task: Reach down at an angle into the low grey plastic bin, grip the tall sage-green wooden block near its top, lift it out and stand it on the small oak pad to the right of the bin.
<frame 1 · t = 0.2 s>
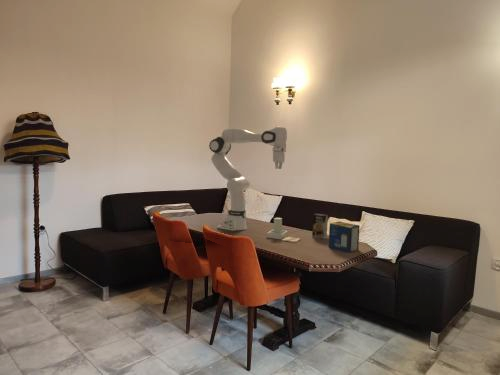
hand: (278, 168, 260), 47 cm above the table, tool pointing down, fingers open, 8 cm apart
pad: (291, 240, 245), on the table
bin: (277, 236, 254), on the table
protein box: (343, 248, 228), on the table
green block: (277, 227, 254), in the bin
coffee box: (319, 237, 257), on the table
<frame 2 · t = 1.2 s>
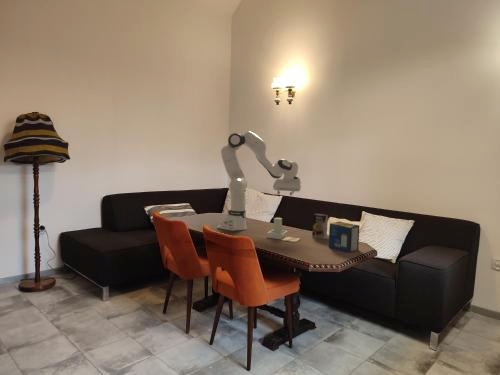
hand: (284, 194, 263), 29 cm above the table, tool tilted 45°, fingers open, 8 cm apart
nothing on the table moved.
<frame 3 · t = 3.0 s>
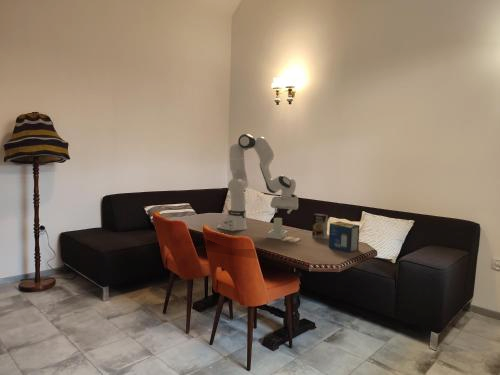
hand: (281, 212, 260), 16 cm above the table, tool tilted 45°, fingers open, 8 cm apart
nothing on the table moved.
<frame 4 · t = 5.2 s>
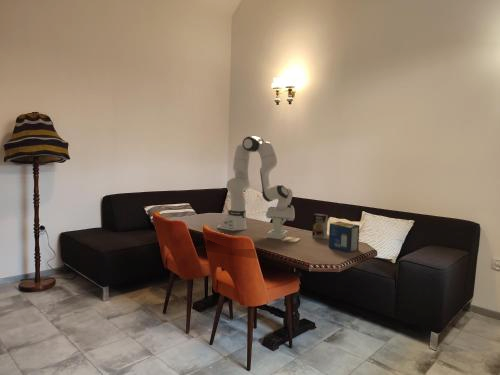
hand: (277, 223, 253), 9 cm above the table, tool tilted 45°, fingers closed on green block, 4 cm apart
green block: (277, 227, 254), in the bin, touching gripper
everything else where it was.
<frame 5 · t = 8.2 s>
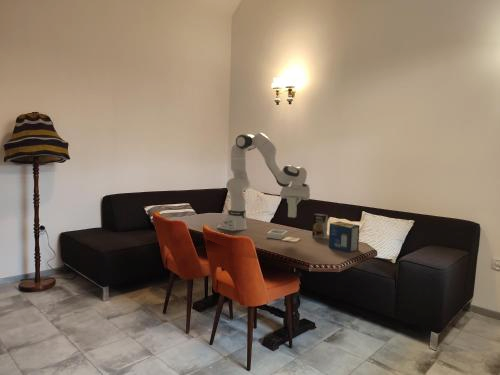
hand: (292, 203, 242), 25 cm above the table, tool tilted 45°, fingers closed on green block, 4 cm apart
green block: (292, 207, 243), point 22 cm above the table, touching gripper
everything else where it was.
when the fingers open (11 cm above the table, at t = 11.3 s): green block stays where it is, resting on pad.
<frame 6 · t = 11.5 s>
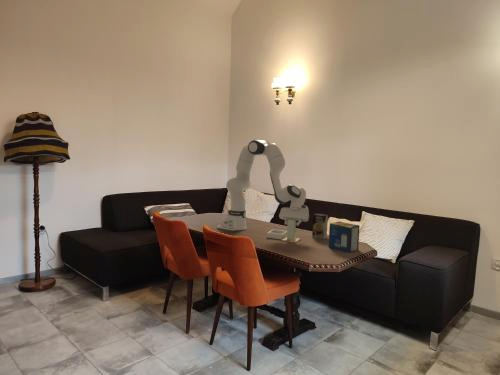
hand: (291, 224, 244), 11 cm above the table, tool tilted 45°, fingers open, 7 cm apart
green block: (291, 229, 245), on the pad, point 7 cm above the table
everything else where it was.
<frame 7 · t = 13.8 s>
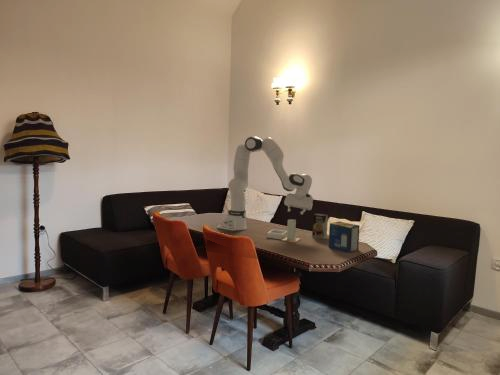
hand: (294, 212, 255), 17 cm above the table, tool tilted 35°, fingers open, 8 cm apart
nothing on the table moved.
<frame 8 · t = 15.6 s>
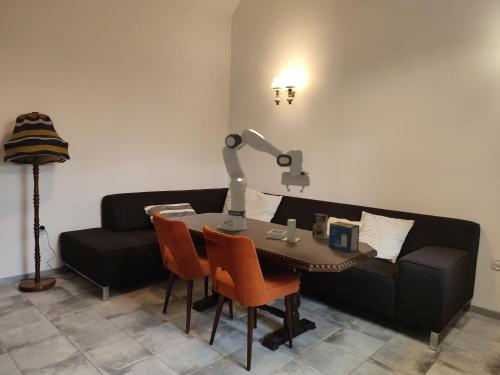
hand: (295, 192, 257), 31 cm above the table, tool pointing down, fingers open, 8 cm apart
nothing on the table moved.
at the end: green block inside the target area on the pad (0.1 cm from its centre), point 7.3 cm above the pad's base; green block tilted 0°; the gripper is holding nothing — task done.
